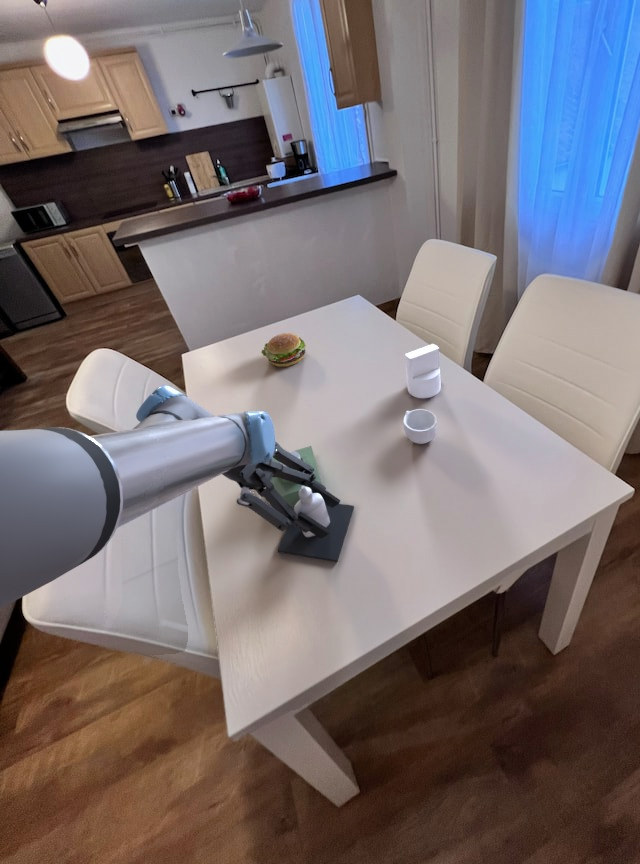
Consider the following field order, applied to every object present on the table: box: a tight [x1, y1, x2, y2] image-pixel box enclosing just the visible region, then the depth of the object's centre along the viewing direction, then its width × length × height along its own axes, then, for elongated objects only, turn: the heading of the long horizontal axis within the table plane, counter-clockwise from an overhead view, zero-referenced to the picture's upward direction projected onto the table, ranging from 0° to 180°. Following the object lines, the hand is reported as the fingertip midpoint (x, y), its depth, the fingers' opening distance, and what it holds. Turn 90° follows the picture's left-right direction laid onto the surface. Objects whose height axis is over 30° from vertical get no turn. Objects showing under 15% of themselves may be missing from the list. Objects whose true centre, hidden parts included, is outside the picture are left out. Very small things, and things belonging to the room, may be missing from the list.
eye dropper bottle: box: [293, 486, 330, 537], centre depth 75 cm, size 4×6×12 cm
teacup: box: [402, 408, 438, 445], centre depth 95 cm, size 10×8×5 cm
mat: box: [276, 503, 355, 563], centre depth 79 cm, size 12×12×1 cm
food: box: [261, 332, 307, 368], centre depth 132 cm, size 14×14×8 cm
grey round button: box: [280, 450, 301, 468], centre depth 86 cm, size 4×4×2 cm
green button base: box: [271, 445, 323, 508], centre depth 88 cm, size 12×10×6 cm
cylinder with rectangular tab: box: [404, 343, 442, 399], centre depth 107 cm, size 9×9×12 cm
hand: (330, 518), depth 76 cm, fingers open, 6 cm apart
